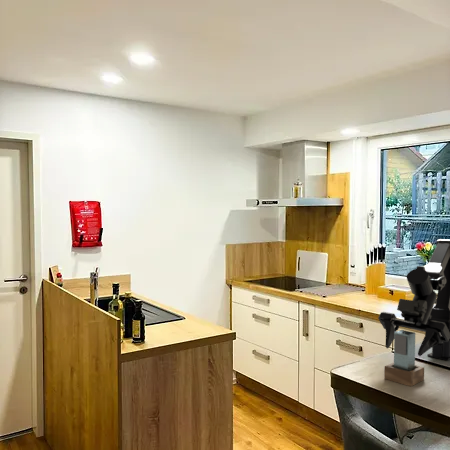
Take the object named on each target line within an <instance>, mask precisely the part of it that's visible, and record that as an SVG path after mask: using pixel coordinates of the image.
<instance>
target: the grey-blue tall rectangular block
mask: <svg viewBox="0 0 450 450" xmlns="http://www.w3.org/2000/svg"><path fill="white" fill-rule="evenodd" d="M393 343H394V344H393V345H394V346H393V348H394V349H393V363H394V368H398V369H402V370H405V371H409V372H410V371H412V370H414V369H415V365H416V332H414V331H408V330H404V329H401V330H397V331H396V332H394V340H393Z"/></svg>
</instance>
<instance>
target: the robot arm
mask: <svg viewBox="0 0 450 450" xmlns="http://www.w3.org/2000/svg"><path fill="white" fill-rule="evenodd" d="M435 243H436V245H435V248H434V250H433V252H432V255H431V257H430V259H429V261H428V263H427V264H425V265H422V266H420V265H418V266H416V268H415V269H412V270H410V271H409V272H408V273H407V274H406V280H407V283H408V286H409V288H410V291H411V294H413V295H414V296H413V298H412V300H411V299H404V298H399V300H398V304H397V308H396V310H397V311H399V312H401V314H400V316H401V317H402V318H403V319H400V318H397V316H396V314H395V313H393V312H387V311H381V312H380V313H379V314H378V315H379V316H378V318H377V319H378V320H379V322H380V324H381V326H382V327H383V329H384V330H385V348H386V349H389V348H390V347H391V346H392V343H394V332H397V331H399V329H400V327H401V328H404V329H406V328H407V329H411V330H414V331H420V332H424V333H425V334H424V337H423V339H422V341H421V344H420V346H419V349H418V351H417V355H418V356H419V357H421V356H423V355H424V354H425V353H427V351H429V350H430V349H431V352H430V353H428V354H427V357H430V358H434V359H435V358H436V359H440V360H444V361H450V239H445V238H443V239H442V238H439V239H437V240H436V242H435ZM436 291H437V293H436Z"/></svg>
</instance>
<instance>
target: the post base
mask: <svg viewBox="0 0 450 450" xmlns="http://www.w3.org/2000/svg"><path fill="white" fill-rule="evenodd" d="M383 375H384V376H383V377H384V380H387V381H391V382H393V383H398V384H401V385H405V386H407V387H413V386H415V385H417V384H419V383H421V382H423V381H425V366H421V365H420V366H419V365H418V364H417V365H416V364H415V369H414V370H412V371H410V372H409V371H405V370H402V369H398V368H394V362H392V363H388V364H386V365H384V374H383Z"/></svg>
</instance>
